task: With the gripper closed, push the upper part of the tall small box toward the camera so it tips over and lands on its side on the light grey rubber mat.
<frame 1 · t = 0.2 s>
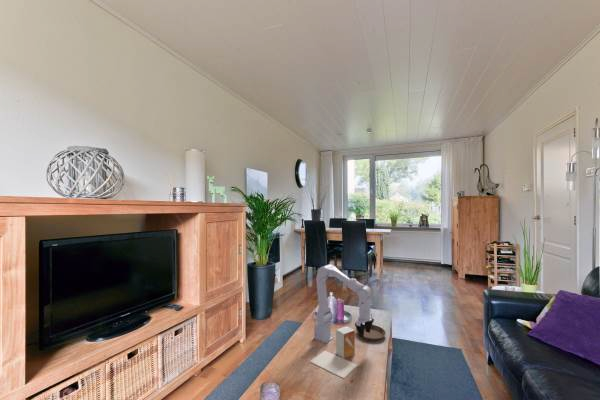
hand: (364, 334, 143), 10 cm above the table, tool pointing down, fingers open, 7 cm apart
small box: (345, 354, 142), on the table
plant saucer: (370, 335, 163), on the table
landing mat: (333, 363, 134), on the table
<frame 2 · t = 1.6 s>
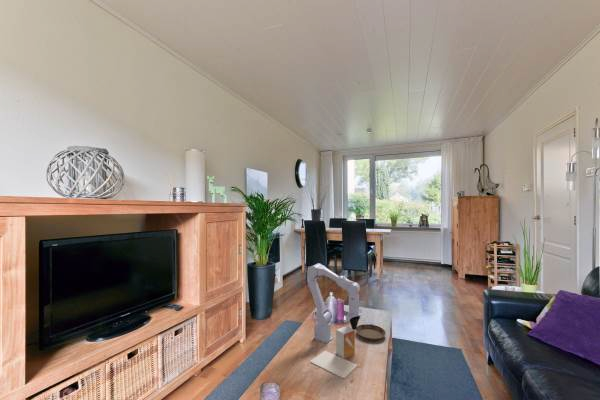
hand: (354, 329, 150), 10 cm above the table, tool pointing down, fingers closed
nothing on the table moved.
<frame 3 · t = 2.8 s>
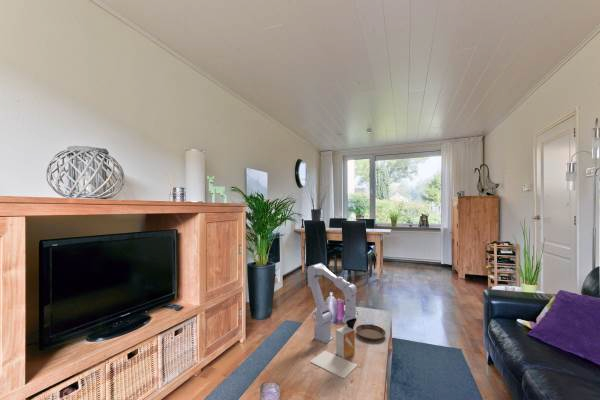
hand: (350, 331, 147), 10 cm above the table, tool pointing down, fingers closed
small box: (345, 354, 142), on the table, touching gripper
everything else where it was.
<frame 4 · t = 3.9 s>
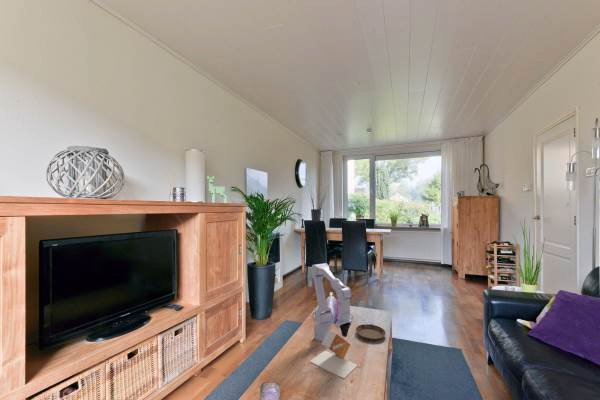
hand: (344, 336, 142), 10 cm above the table, tool pointing down, fingers closed
small box: (343, 349, 142), point 3 cm above the table
everything else where it was.
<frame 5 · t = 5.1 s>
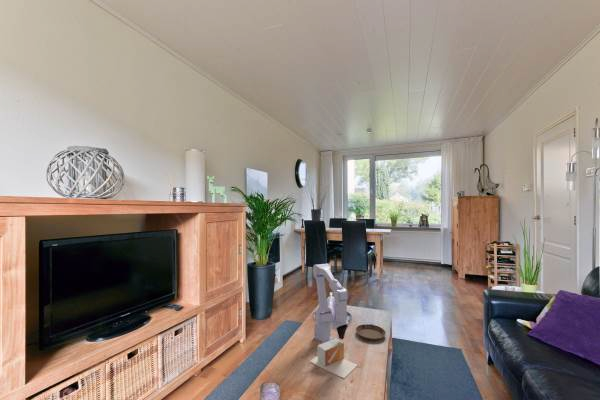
hand: (341, 338, 140), 10 cm above the table, tool pointing down, fingers closed
small box: (340, 347, 141), point 4 cm above the table, touching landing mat
everything else where it was.
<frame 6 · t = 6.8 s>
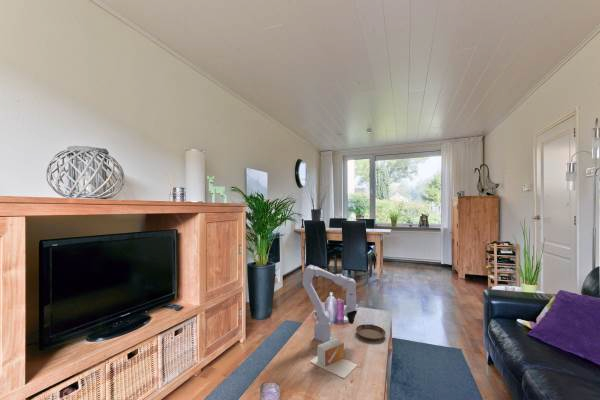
hand: (351, 323, 156), 10 cm above the table, tool pointing down, fingers closed
nothing on the table moved.
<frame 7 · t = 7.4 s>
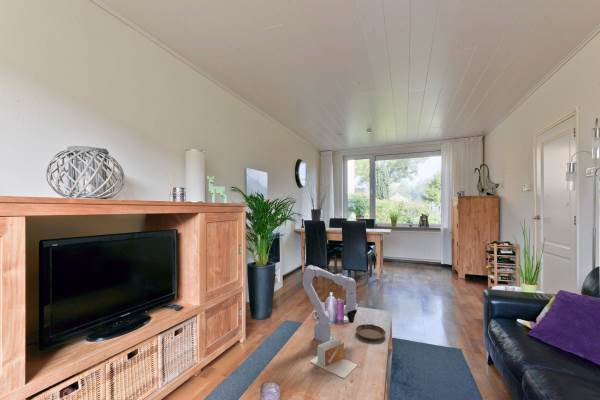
hand: (351, 322, 157), 10 cm above the table, tool pointing down, fingers closed
nothing on the table moved.
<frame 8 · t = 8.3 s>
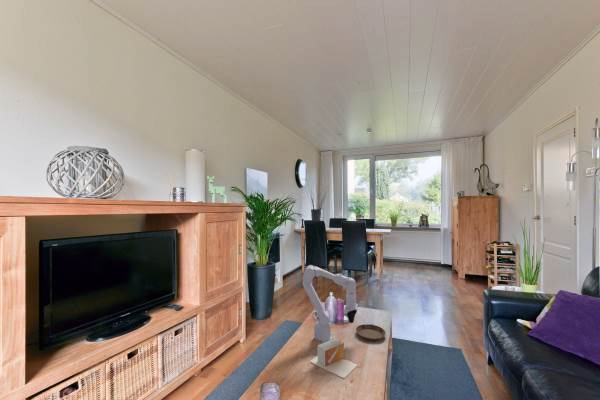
hand: (351, 322, 157), 10 cm above the table, tool pointing down, fingers closed
nothing on the table moved.
at the end: small box tilted 90°; small box touching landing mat; the gripper is holding nothing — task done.
